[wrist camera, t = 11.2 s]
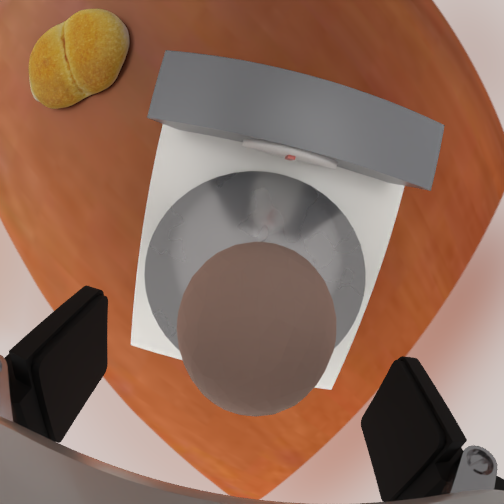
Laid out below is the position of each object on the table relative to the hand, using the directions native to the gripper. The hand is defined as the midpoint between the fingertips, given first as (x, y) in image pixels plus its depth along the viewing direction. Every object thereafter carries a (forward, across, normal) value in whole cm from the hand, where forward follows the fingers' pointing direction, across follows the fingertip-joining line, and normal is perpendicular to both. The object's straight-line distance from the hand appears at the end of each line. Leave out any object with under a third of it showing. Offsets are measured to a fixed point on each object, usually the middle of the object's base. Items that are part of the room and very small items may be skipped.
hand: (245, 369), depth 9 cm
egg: (+9, 0, +1) cm, 9 cm away
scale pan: (+9, 0, +1) cm, 9 cm away
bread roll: (+15, +17, -12) cm, 26 cm away
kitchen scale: (+14, 0, -1) cm, 14 cm away
